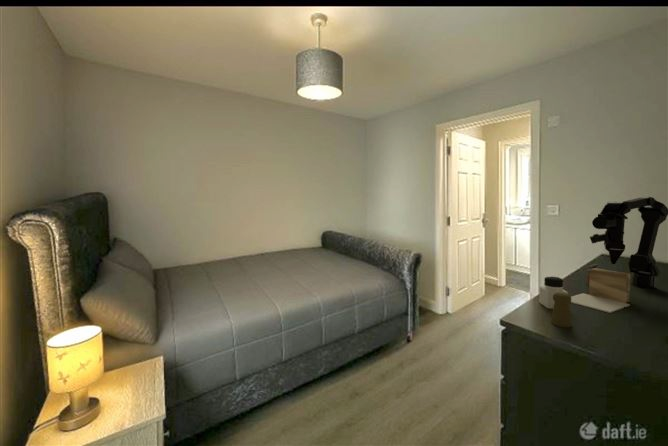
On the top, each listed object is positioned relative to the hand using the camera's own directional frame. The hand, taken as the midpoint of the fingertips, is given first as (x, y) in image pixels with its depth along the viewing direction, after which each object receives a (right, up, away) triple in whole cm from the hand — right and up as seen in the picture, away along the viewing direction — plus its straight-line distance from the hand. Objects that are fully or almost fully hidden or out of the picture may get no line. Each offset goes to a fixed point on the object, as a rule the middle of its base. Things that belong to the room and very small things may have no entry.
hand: (612, 262), depth 133 cm
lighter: (+2, -13, +12) cm, 18 cm away
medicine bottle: (-38, -16, -14) cm, 44 cm away
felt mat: (-19, -15, -12) cm, 27 cm away
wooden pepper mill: (-48, -18, -30) cm, 59 cm away
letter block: (-9, -15, -8) cm, 19 cm away
